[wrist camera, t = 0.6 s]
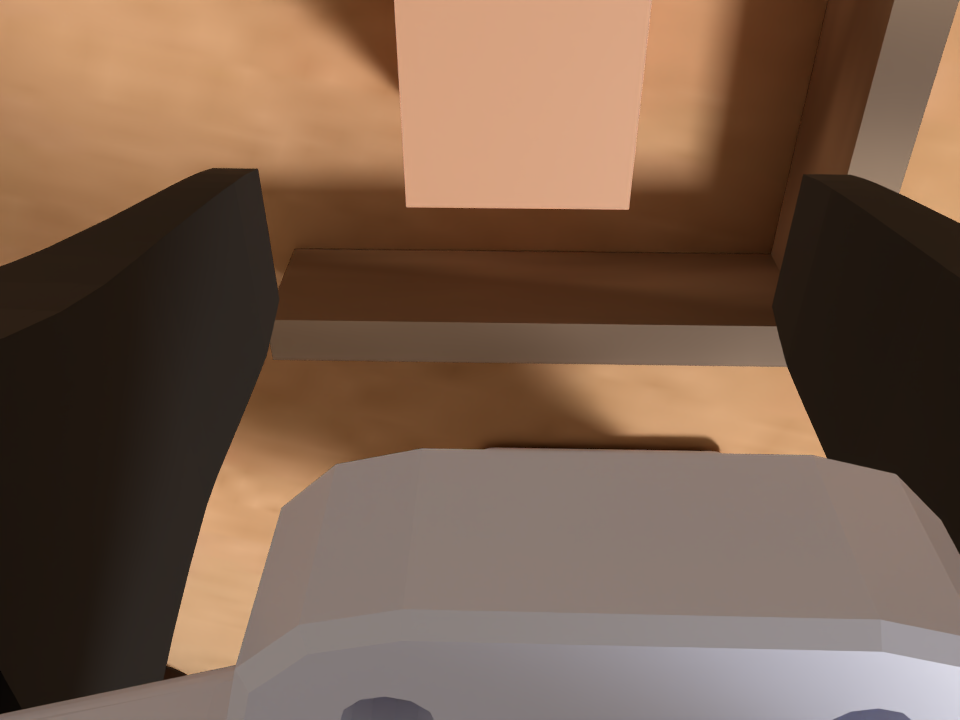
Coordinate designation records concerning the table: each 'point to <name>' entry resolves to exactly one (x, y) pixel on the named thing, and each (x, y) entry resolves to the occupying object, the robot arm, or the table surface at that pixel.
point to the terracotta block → (520, 101)
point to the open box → (628, 276)
